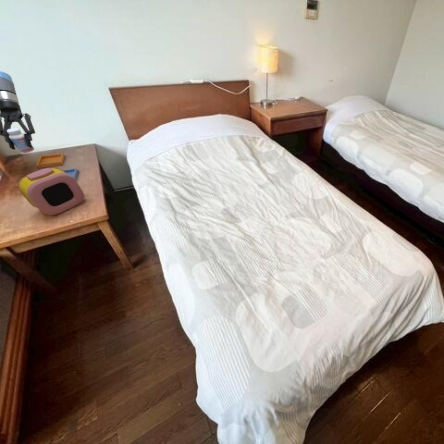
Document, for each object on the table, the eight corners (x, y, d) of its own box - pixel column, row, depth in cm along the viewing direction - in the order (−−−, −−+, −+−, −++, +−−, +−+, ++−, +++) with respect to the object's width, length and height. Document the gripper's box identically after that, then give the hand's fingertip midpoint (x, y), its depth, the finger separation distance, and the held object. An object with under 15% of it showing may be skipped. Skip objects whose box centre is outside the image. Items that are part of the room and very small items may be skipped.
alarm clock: (48, 220, 116) (20, 186, 102) (36, 211, 119) (7, 177, 106) (89, 200, 128) (69, 167, 115) (77, 193, 131) (56, 160, 118)
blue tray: (50, 185, 134) (48, 182, 133) (54, 174, 141) (52, 171, 140) (76, 181, 139) (74, 178, 137) (78, 171, 146) (76, 168, 144)
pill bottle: (25, 154, 128) (10, 133, 120) (16, 151, 129) (1, 130, 121) (37, 149, 132) (23, 129, 125) (29, 147, 133) (15, 126, 126)
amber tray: (38, 168, 145) (36, 165, 143) (42, 159, 152) (40, 155, 151) (62, 165, 149) (60, 161, 148) (65, 156, 156) (63, 153, 155)
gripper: (37, 106, 132) (49, 147, 133) (-11, 108, 125) (2, 152, 126) (28, 98, 125) (40, 142, 126) (-24, 100, 118) (-10, 147, 119)
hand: (21, 147), depth 126 cm, fingers closed on pill bottle, 6 cm apart
